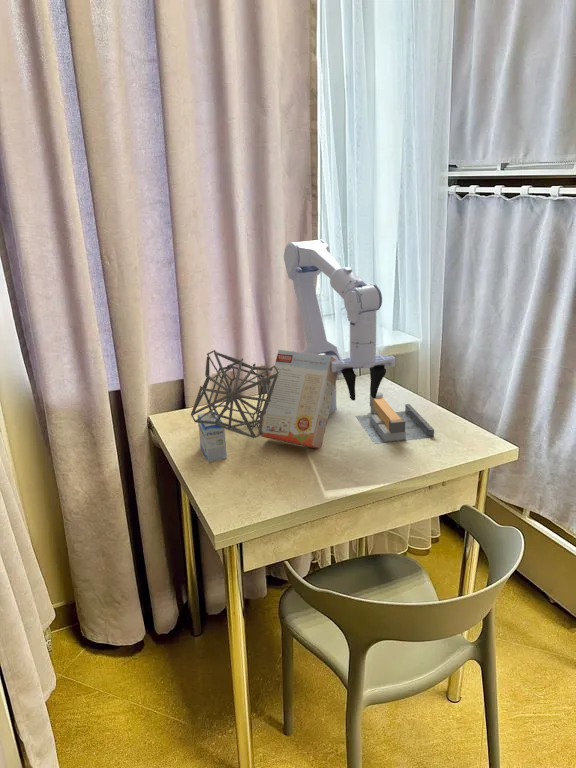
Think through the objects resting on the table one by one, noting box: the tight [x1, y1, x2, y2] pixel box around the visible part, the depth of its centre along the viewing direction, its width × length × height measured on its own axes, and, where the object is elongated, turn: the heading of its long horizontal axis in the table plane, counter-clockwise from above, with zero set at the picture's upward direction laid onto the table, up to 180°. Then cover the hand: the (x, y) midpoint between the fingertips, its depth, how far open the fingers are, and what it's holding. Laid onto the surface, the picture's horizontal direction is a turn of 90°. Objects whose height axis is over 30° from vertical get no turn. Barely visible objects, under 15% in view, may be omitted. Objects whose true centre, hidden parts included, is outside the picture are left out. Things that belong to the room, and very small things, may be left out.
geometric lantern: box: [190, 349, 279, 439], centre depth 124 cm, size 16×16×35 cm
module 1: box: [370, 414, 385, 431], centre depth 132 cm, size 5×5×2 cm
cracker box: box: [257, 349, 338, 450], centre depth 126 cm, size 14×6×21 cm
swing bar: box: [369, 391, 405, 433], centre depth 130 cm, size 18×3×3 cm, turn 9°
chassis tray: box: [355, 403, 435, 445], centre depth 132 cm, size 14×17×4 cm
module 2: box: [378, 424, 406, 442], centre depth 126 cm, size 5×5×2 cm
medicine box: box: [197, 411, 228, 463], centre depth 123 cm, size 8×4×9 cm, turn 21°
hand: (362, 397), depth 126 cm, fingers open, 4 cm apart
